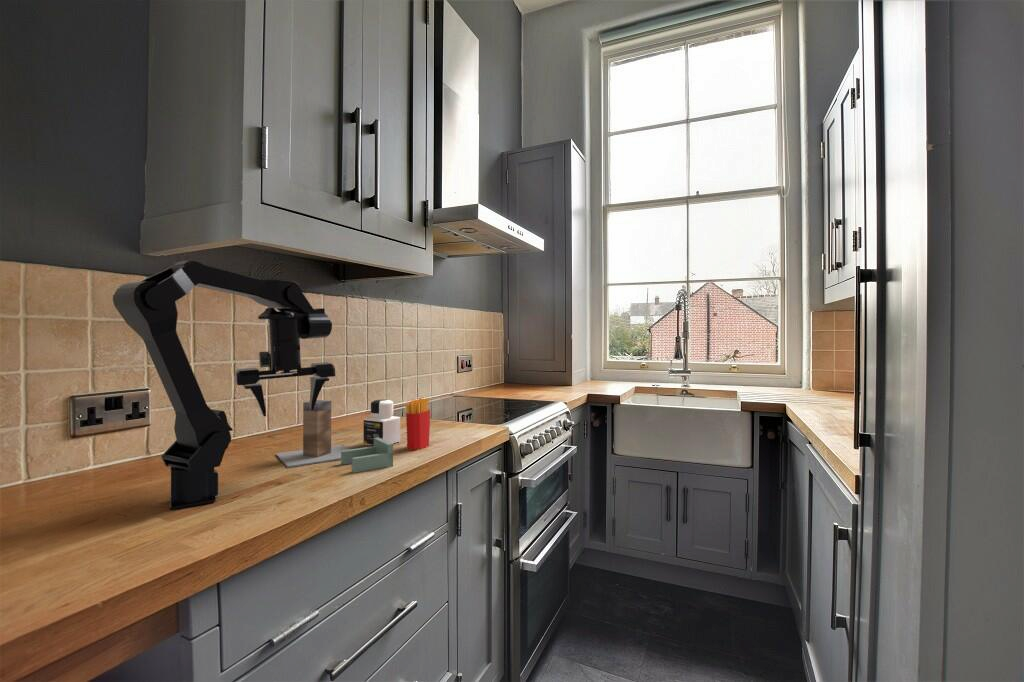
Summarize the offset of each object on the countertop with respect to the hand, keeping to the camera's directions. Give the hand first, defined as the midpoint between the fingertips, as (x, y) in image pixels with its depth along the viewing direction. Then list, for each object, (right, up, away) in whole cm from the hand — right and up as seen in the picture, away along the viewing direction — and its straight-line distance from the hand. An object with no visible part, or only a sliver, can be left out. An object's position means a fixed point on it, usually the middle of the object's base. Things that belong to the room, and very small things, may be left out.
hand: (288, 413), depth 98 cm
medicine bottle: (+12, -13, +28) cm, 34 cm away
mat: (0, -13, +14) cm, 19 cm away
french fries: (+23, -13, +24) cm, 36 cm away
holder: (+15, -13, +7) cm, 21 cm away
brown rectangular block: (0, -13, +15) cm, 19 cm away
